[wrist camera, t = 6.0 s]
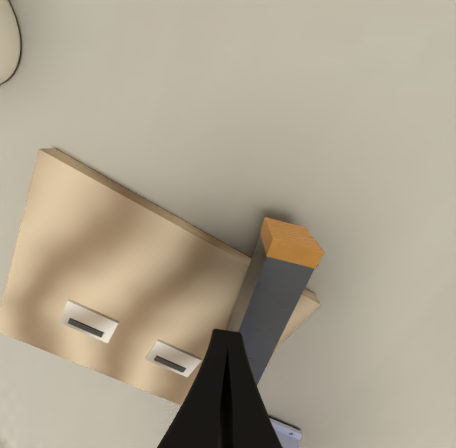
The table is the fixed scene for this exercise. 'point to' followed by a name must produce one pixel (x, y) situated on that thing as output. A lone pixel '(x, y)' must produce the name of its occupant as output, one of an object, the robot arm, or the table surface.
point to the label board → (120, 281)
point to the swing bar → (272, 288)
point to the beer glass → (8, 41)
